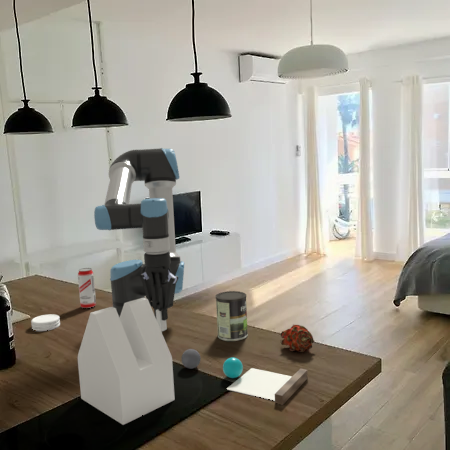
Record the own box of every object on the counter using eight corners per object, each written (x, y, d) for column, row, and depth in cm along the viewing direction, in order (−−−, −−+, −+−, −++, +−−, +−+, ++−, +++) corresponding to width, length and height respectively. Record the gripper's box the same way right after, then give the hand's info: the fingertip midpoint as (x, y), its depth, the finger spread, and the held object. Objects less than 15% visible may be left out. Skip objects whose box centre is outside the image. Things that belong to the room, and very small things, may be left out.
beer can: (94, 309, 206) (90, 270, 203) (78, 309, 206) (75, 271, 204) (98, 304, 212) (94, 267, 210) (83, 305, 212) (79, 267, 210)
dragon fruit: (312, 361, 150) (283, 356, 159) (324, 338, 155) (295, 334, 164) (298, 343, 147) (269, 339, 156) (311, 320, 151) (281, 317, 160)
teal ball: (229, 371, 142) (228, 352, 142) (246, 375, 140) (246, 356, 139) (219, 379, 138) (218, 360, 137) (236, 383, 135) (236, 363, 134)
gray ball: (189, 362, 150) (188, 344, 149) (204, 365, 147) (203, 347, 146) (178, 369, 145) (177, 351, 144) (193, 373, 142) (192, 354, 141)
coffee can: (250, 330, 174) (248, 290, 172) (245, 341, 164) (243, 299, 162) (220, 329, 176) (219, 290, 174) (214, 340, 166) (212, 299, 164)
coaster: (54, 331, 182) (53, 322, 182) (27, 332, 182) (26, 323, 182) (64, 322, 192) (63, 313, 192) (38, 323, 192) (37, 314, 192)
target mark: (251, 368, 144) (251, 367, 144) (297, 378, 136) (297, 377, 136) (226, 389, 132) (226, 388, 132) (274, 401, 125) (274, 400, 124)
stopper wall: (300, 377, 137) (300, 368, 137) (307, 378, 136) (307, 369, 135) (275, 403, 123) (274, 393, 123) (282, 405, 122) (282, 395, 122)
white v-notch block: (174, 400, 128) (168, 305, 124) (123, 425, 117) (114, 321, 113) (131, 378, 141) (124, 291, 137) (81, 399, 130) (72, 305, 127)
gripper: (131, 252, 146) (136, 331, 149) (166, 255, 140) (171, 337, 143) (147, 248, 153) (152, 323, 156) (182, 250, 146) (187, 329, 149)
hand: (162, 330), depth 149 cm, fingers closed
